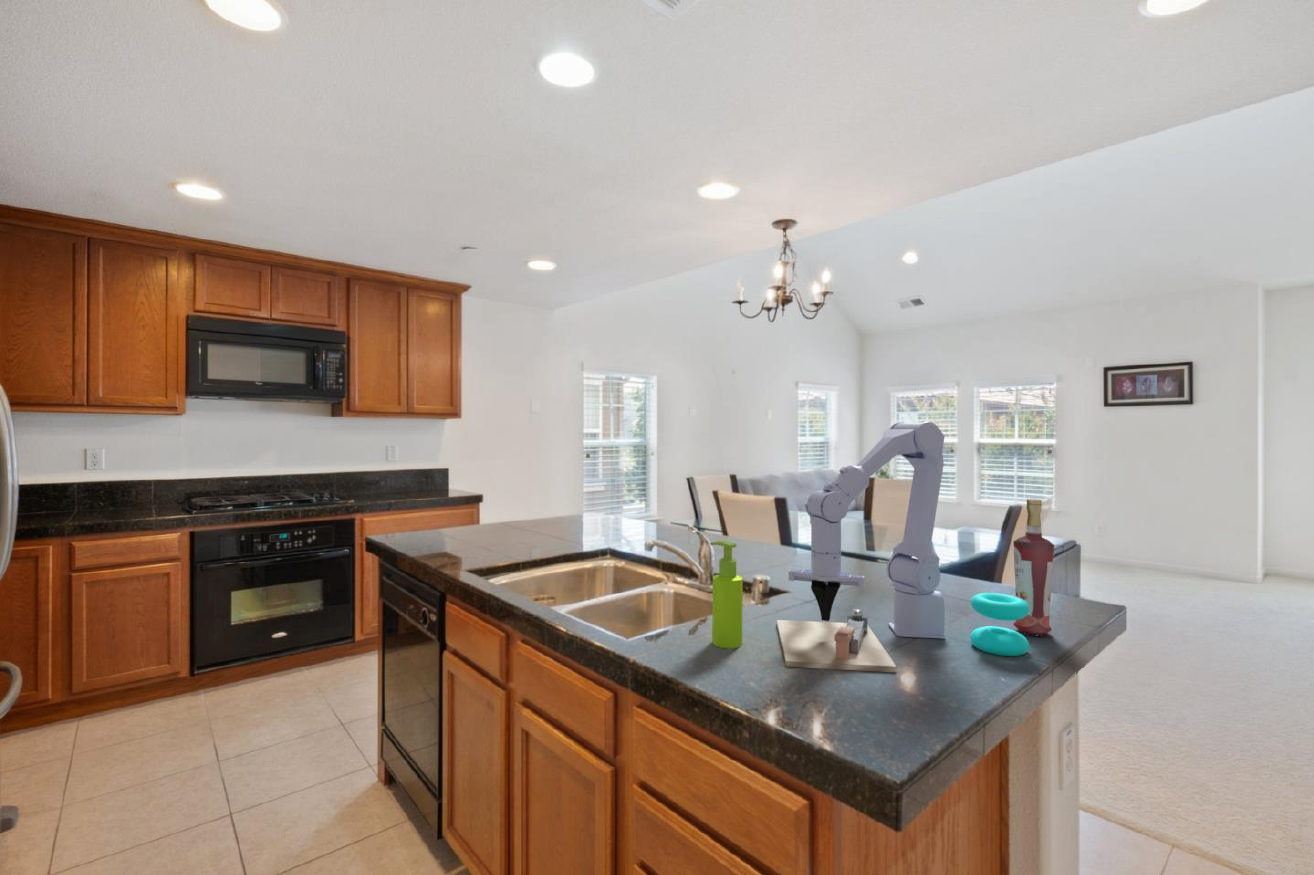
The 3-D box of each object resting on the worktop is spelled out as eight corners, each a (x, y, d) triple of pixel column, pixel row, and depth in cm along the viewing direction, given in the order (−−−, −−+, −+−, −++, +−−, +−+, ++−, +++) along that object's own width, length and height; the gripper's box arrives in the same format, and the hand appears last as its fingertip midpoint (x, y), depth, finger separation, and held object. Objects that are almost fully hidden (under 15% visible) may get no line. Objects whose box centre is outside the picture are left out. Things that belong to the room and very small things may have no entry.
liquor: (1059, 639, 126) (1061, 502, 125) (1019, 637, 127) (1021, 501, 127) (1044, 628, 133) (1046, 498, 132) (1007, 626, 134) (1008, 497, 134)
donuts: (1033, 607, 114) (973, 601, 118) (1033, 661, 114) (972, 653, 118) (1025, 594, 123) (968, 589, 127) (1024, 644, 123) (968, 637, 127)
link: (848, 625, 130) (848, 606, 130) (868, 628, 129) (868, 609, 128) (838, 650, 116) (838, 629, 115) (860, 653, 114) (860, 632, 114)
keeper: (840, 647, 118) (840, 626, 118) (854, 649, 117) (854, 628, 117) (834, 657, 113) (834, 635, 112) (848, 659, 111) (848, 637, 111)
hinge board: (867, 628, 132) (867, 623, 132) (896, 672, 108) (896, 666, 108) (776, 624, 134) (776, 619, 134) (786, 666, 111) (786, 660, 111)
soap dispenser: (721, 634, 127) (721, 538, 127) (748, 643, 123) (748, 542, 122) (702, 641, 123) (702, 541, 123) (729, 650, 118) (730, 546, 118)
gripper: (785, 552, 122) (785, 620, 122) (862, 558, 116) (862, 629, 117) (792, 545, 129) (792, 610, 129) (865, 551, 123) (865, 619, 123)
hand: (825, 619), depth 123 cm, fingers closed
